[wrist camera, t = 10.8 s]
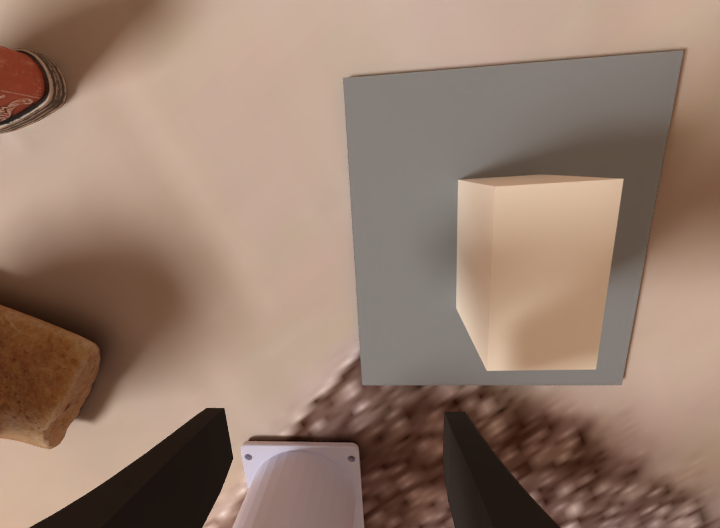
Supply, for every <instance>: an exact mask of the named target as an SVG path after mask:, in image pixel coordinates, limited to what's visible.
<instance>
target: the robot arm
mask: <svg viewBox="0 0 720 528" xmlns="http://www.w3.org/2000/svg"><path fill="white" fill-rule="evenodd" d="M249 454H250V455H249ZM241 455H242V460H243V466H244V471H245V476H246V482H247V487H248V492H247V495H246V497H245V499H244V502H243V504H242V506H241V509H240V511H239V513H238V516H237V518H236V520H235V523H234V525H233V527H232V528H364V513H363V499H362V485H361V470H360V456H359V447H358V446H357V444H355V443H346V442H277V441H246V442H244V443H243V445H242V447H241ZM350 456H353V457H350ZM232 460H233V454H232V448H231V443H230V437H229V432H228V426H227V421H226V415H225V409H224V408H206V409H205V410H203V411H202V412H200V413H199V414H197V415H196V416H195V417H193V418H192V419H191V420H189V421H188V422H187V423H185V424H184V425H183V426H181V427H180V428H179V429H177V430H176V431H175V432H174V433H172V434H171V435H170V436H168V437H167V438H166V439H164V440H163V441H162V442H160V443H159V444H158V445H156V446H155V447H154V448H152V449H151V450H150V451H148V452H147V453H146V454H144V455H143V456H141V457H140V458H139V459H137V460H136V461H134V462H133V463H131V464H130V465H129V466H127V467H126V468H124V469H123V470H121V471H120V472H119V473H117V474H116V475H114V476H113V477H111V478H110V479H109V480H107V481H106V482H104V483H103V484H101V485H100V486H98V487H97V488H95V489H94V490H92V491H90V492H89V493H87V494H86V495H84V496H83V497H81V498H79V499H78V500H76V501H74V502H73V503H71V504H70V505H68V506H66V507H65V508H63V509H61V510H60V511H58V512H56V513H55V514H53V515H51V516H50V517H48V518H46V519H44V520H42V521H41V522H39V523H37V524H35V525H33V526H32V527H30V528H202V527H203V525H204V523H205V521H206V519H207V517H208V515H209V513H210V511H211V510H212V508H213V506H214V504H215V502H216V500H217V498H218V496H219V494H220V492H221V489H222V487H223V484H224V482H225V479H226V477H227V474H228V471H229V468H230V466H231V463H232ZM443 468H444V475H445V482H446V489H447V495H448V501H449V505H450V509H451V514H452V518H453V522H454V526H455V528H560V527H559V526H558V525H557V524H556V523H555V522H554V521H553V520H552V519H551V518H550V516H549V515H548V514H547V513H546V512H545V511H544V510H543V509H542V508H541V507H540V506H539V505H538V504H537V503H536V502H535V500H534V499H533V498H532V497H531V496H530V495H529V494H528V493H527V491H526V490H525V489H524V488H523V487H522V486H521V485H520V484H519V482H518V481H517V480H516V479H515V478H514V476H513V475H512V474H511V473H510V472H509V470H508V469H507V468H506V467H505V465H504V464H503V463H502V462H501V460H500V459H499V458H498V457H497V455H496V454H495V453H494V451H493V450H492V449H491V448H490V446H489V445H488V444H487V442H486V441H485V439H484V438H483V437H482V435H481V434H480V433H479V431H478V430H477V428H476V427H475V425H474V424H473V422H472V421H471V420H470V418H469V416H468V415H467V414H466V413H465V412H444V444H443Z"/></svg>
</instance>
